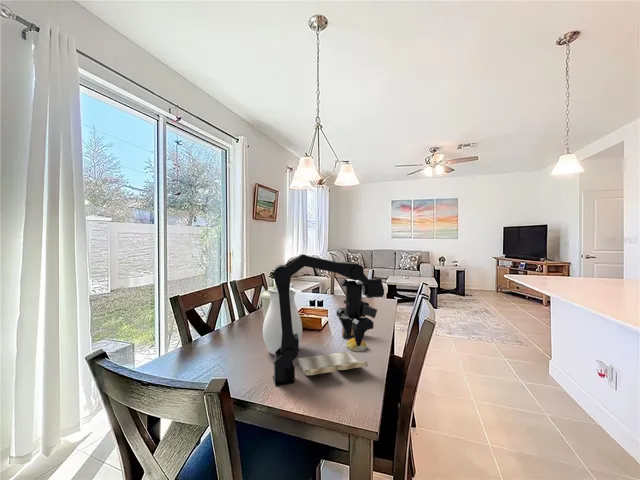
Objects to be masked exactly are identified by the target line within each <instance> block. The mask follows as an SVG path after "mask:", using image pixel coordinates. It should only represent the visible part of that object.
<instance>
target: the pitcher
mask: <svg viewBox="0 0 640 480" xmlns="http://www.w3.org/2000/svg"><path fill="white" fill-rule="evenodd" d="M271 290H273V289H267V290H266V291H268V293H269V294H270V305H269V308H268V311H267V314H266V316H265V319H264V318H263V320H264V321H263V325H262V337H263V341H264V345H265V347H266V349H267V350H268V352H269V354H271V355H272V356H275V352H276V351H277V350H278V349H279V348H280V347H281V337H282V325H281V314H280V303H279V293H278V290H277V288H276V289H275V290H273V291H271ZM295 296H296V289H295V287H294V284H293V283H291V282H290V290H289V297H290V308H291V319H292V330H293V333H294V334H296V333H297V334H298V339H299V342H298V343H299V345H300V343H301V341H302V336H303V324H302V323H303V322H302V318H301V315H300V313H299V310H298V308H297V305H296V302H295Z"/></svg>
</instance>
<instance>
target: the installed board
mask: <svg viewBox="0 0 640 480" xmlns="http://www.w3.org/2000/svg"><path fill="white" fill-rule="evenodd" d="M297 362H298V365H299V367H300V369H301V371H302V372H303V374H304V375H305V370H312V369H318V368H324V367H333V366H335V367H336V366H337V365H343V364H350V363H356V362H359V361H358V360H357V359H356V358H355V357H354V356H352V355H351V354H350V352H348V351H343V352H335V353H329V354H328V353H327V354H321V355H314V356H307V357H306V356H305V357H299V358H297Z"/></svg>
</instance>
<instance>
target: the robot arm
mask: <svg viewBox="0 0 640 480" xmlns="http://www.w3.org/2000/svg"><path fill="white" fill-rule="evenodd" d="M304 267H306V268H311V269H317V270H322V271H326V272H330V273H336V274H338V275H341V276H342V277H345V278H344V279H343V280H342V281H341V282H339V285H340V286H341V287H345V299H343V303H344V304H345V307H339V308H337V309H336V316H337V317H338V320H339V321H340V324H341V327H342V329H343V328H344V331H345V333H346V335H347V339H352V338H351V332H352V331H353V335H354V337H353V338H355V341H356V344H357V346H360V345H361V342H362V341H363V339H364V335H365V333H366V332H368V331H369V330H373V329H374V327H375V325H374V324H375V323H374V321H373V320H372V319H375V318H376V316H377V313H378V309H376V308H375V307H373V306H370V303H369V302H367V301H363V296H365V298H367V299H368V298H369V299H370V298H371V299H373V298H383V297H384V296H385V288H384V284H383V281H382V278H379V277H377V278H368V277H367V276H366V274H365V270H364V268H363V266H362V265H361V264H359V263H357V262H353V261H350V262H349V261H334V260H328V259H324V258H321V257H315V256H310V255H307V254H305V253H302V254H301V253H300V254H299V255H298V256H297V257H295V258H294V259H292V260H290V261H288V262H286V263H285V264H280V265H279V264H278V265H277V266H276V267H275V268H274V271H273V279H274V283H275V286H276V287H277V290H278V293H279V303H280V314H281V325H282V337H281V347H280V348H279V349H278V350H277V351H276V352H275V355H274V361H273V375H272V379H273V382H274V385H275V386H276V387H279V386H285V385H290V384H295V379H296V371H295V370H296V369H295V365H294V362H293V361H295V360H296V359H297V358H298V355H299V352H300V351H301V349H300V344H299V343H298V342H299V339H298V334H297V333H296V334H294V333H293V330H292V319H291V308H290V297H289V290H290V283H291V279H292V278H291V277H292V276H294V275H295V274H296V273H298V272H299V271H301V269H303V268H304ZM347 278H348V279H349V280H348V279H347ZM357 281H359V282H357ZM366 316H368V317H371V318H372V319H370V318H368V317H366ZM361 317H362V318H361ZM352 325H353V327H352Z"/></svg>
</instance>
